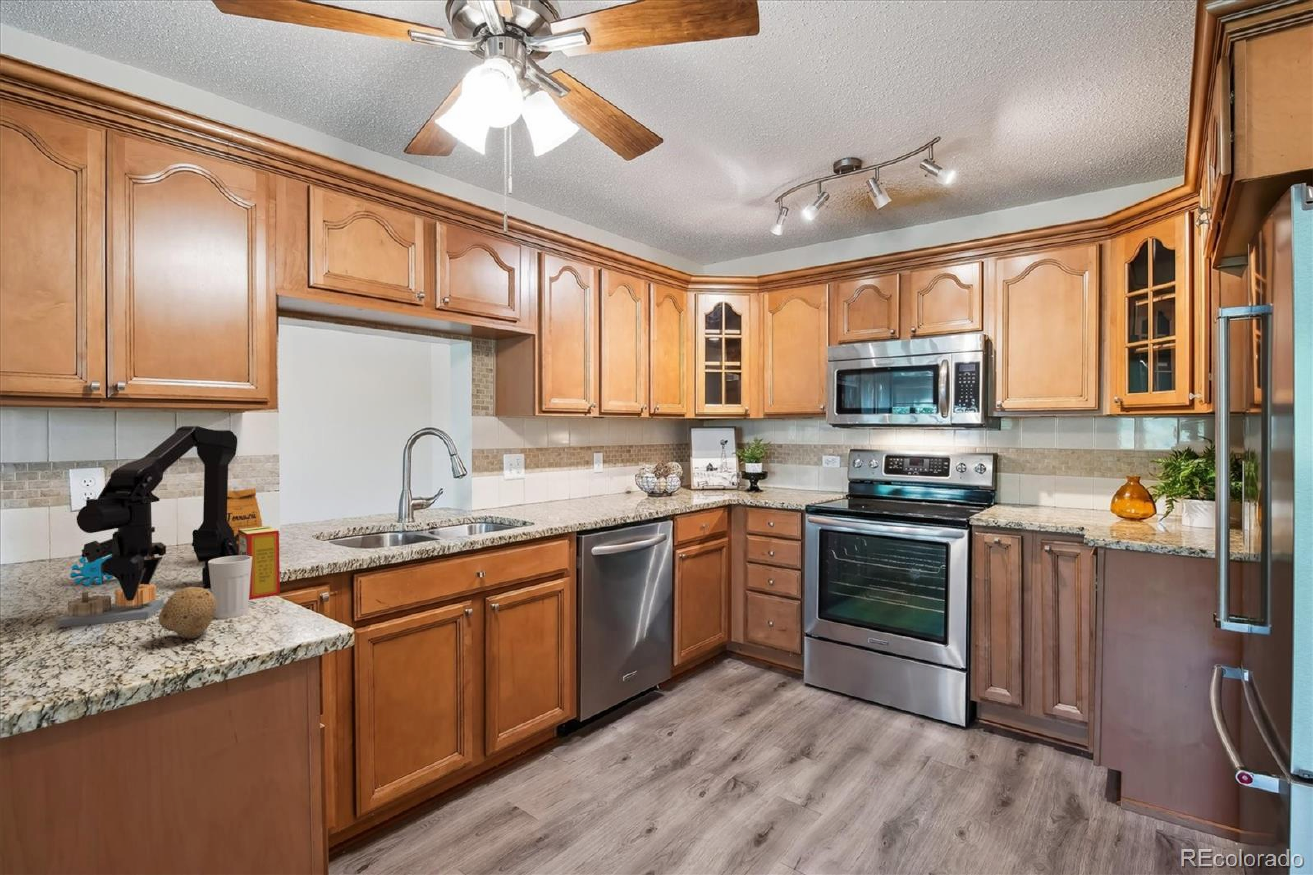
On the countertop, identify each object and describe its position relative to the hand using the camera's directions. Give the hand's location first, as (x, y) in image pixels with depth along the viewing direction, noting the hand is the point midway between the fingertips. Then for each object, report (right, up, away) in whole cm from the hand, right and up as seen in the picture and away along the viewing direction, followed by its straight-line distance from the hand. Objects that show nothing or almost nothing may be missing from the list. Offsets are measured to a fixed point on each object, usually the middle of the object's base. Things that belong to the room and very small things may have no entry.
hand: (136, 596), depth 137 cm
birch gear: (-7, -3, -3) cm, 8 cm away
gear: (-32, -3, +27) cm, 42 cm away
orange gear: (0, -1, 0) cm, 1 cm away
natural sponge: (+23, -5, -15) cm, 28 cm away
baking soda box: (+16, -4, +17) cm, 24 cm away
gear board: (-4, -4, -1) cm, 6 cm away
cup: (+21, -4, 0) cm, 21 cm away
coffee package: (-10, -3, +48) cm, 49 cm away
